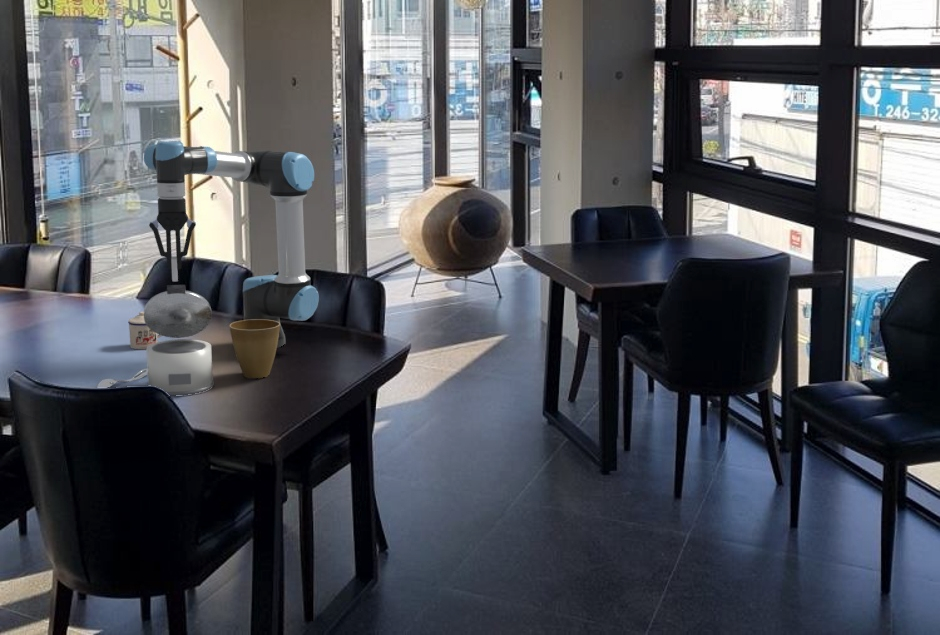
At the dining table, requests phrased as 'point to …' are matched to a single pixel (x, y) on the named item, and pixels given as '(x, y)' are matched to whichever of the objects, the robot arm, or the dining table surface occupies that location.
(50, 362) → the dining table surface
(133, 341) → the teacup with lid
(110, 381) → the stirrer
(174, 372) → the cooker pot
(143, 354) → the dining table surface
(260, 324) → the plant pot
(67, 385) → the dining table surface
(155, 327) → the lid
